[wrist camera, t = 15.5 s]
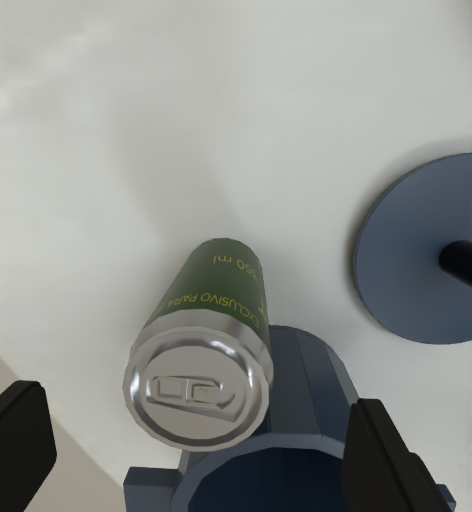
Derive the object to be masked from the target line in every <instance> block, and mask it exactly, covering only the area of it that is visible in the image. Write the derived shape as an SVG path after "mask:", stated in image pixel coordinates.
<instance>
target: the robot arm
mask: <svg viewBox="0 0 472 512" xmlns="http://www.w3.org/2000/svg"><path fill="white" fill-rule="evenodd" d="M56 458H57V451H56V446H55V440H54V435H53V430H52V424H51V419H50V414H49V409H48V403H47V398H46V393H45V389H44V388H43V387H41V385H40V383H39V382H37V381H23V380H18V381H15V382H14V383H13V384H11V386H9V387H8V388H7V389H6V390H5V391H4V392H3V393H1V395H0V512H24V510H25V509H26V507H27V506H28V504H29V503H30V501H31V500H32V498H33V497H34V495H35V493H36V492H37V491H38V489H39V488H40V486H41V485H42V483H43V482H44V480H45V479H46V477H47V476H48V474H49V473H50V471H51V470H52V468H53V466H54V464H55V462H56ZM341 483H342V487H343V491H344V494H345V498H346V501H347V505H348V508H349V512H452V510H451V509H450V507H449V505H448V503H447V502H446V500H445V498H444V497H443V495H442V493H441V492H440V490H439V488H438V486H437V485H436V483H435V481H434V480H433V478H432V476H431V474H430V473H429V471H428V469H427V468H426V466H425V464H424V462H423V461H422V460H421V458H420V457H419V456H418V455H417V454H416V453H412V452H409V450H408V448H407V447H406V445H405V443H404V441H403V440H402V438H401V436H400V434H399V432H398V431H397V429H396V427H395V425H394V423H393V422H392V420H391V418H390V416H389V414H388V413H387V411H386V409H385V407H384V405H383V404H382V402H381V401H380V400H379V399H364V398H359V399H358V400H357V403H352V404H351V408H350V415H349V421H348V428H347V434H346V441H345V447H344V454H343V460H342V466H341Z"/></svg>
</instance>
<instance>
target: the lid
mask: <svg viewBox="0 0 472 512" xmlns="http://www.w3.org/2000/svg"><path fill="white" fill-rule="evenodd" d="M353 275H354V280H355V285H356V288H357V291H358V293H359V296H360V298H361V300H362V302H363V303H364V305H365V307H366V308H367V309H368V311H369V312H370V313H371V314H372V316H373V317H374V318H375V319H376V320H377V321H378V322H379V323H380V324H381V325H382V326H384V327H385V328H387V329H388V330H390V331H391V332H393V333H395V334H397V335H399V336H401V337H403V338H406V339H409V340H412V341H416V342H420V343H426V344H436V345H437V344H455V343H462V342H466V341H471V340H472V153H462V154H456V155H451V156H446V157H443V158H440V159H436V160H433V161H431V162H429V163H426V164H424V165H422V166H419V167H418V168H416V169H414V170H413V171H411V172H409V173H407V174H406V175H404V176H403V177H402V178H401V179H399V180H398V181H397V182H395V183H394V184H393V185H392V186H391V187H390V188H389V189H388V190H386V191H385V192H384V193H383V194H382V196H381V197H380V198H379V199H378V200H377V202H376V203H375V204H374V205H373V207H372V208H371V210H370V211H369V213H368V214H367V216H366V218H365V220H364V222H363V224H362V226H361V228H360V231H359V234H358V237H357V239H356V244H355V248H354V254H353Z"/></svg>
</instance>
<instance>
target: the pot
mask: <svg viewBox="0 0 472 512" xmlns="http://www.w3.org/2000/svg"><path fill="white" fill-rule="evenodd" d="M269 333H270V342H271V350H272V359H273V379H274V384H273V387H272V389H271V392H270V395H269V405H268V408H267V411H266V413H265V416H264V419H263V421H262V423H261V424H260V425H259V426H258V427H257V428H256V430H255V431H254V432H253V433H252V434H251V435H250V436H249V437H247V438H246V439H244V440H242V441H241V442H239V443H237V444H236V445H234V446H232V447H228V448H224V449H220V450H216V451H200V452H191V451H187V450H182V454H181V458H180V462H179V467H178V469H165V468H148V467H130V468H129V470H128V473H127V475H126V478H125V480H124V483H123V486H124V494H125V503H126V511H127V512H349V508H348V505H347V501H346V498H345V494H344V491H343V487H342V483H341V466H342V460H343V454H344V447H345V441H346V434H347V428H348V421H349V415H350V408H351V404H352V403H357V400H358V399H359V396H358V394H357V392H356V389H355V387H354V385H353V383H352V381H351V379H350V377H349V375H348V372H347V370H346V368H345V366H344V364H343V362H342V361H341V360H340V359H339V357H338V356H337V354H336V353H335V352H334V351H333V350H332V349H331V348H330V347H329V346H328V345H327V344H326V343H325V342H323V341H322V340H320V339H319V338H317V337H316V336H314V335H312V334H310V333H308V332H305V331H302V330H299V329H296V328H291V327H286V326H269ZM436 485H437V486H438V488H439V490H440V492H441V493H442V495H443V497H444V498H445V500H446V502H447V503H448V505H449V507H450V509H451V510H452V512H454V510H455V507H456V501H455V500H454V498H453V496H452V495H451V493H450V492H449V490H448V488H447V487H446V485H444V484H436Z"/></svg>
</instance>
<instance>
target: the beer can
mask: <svg viewBox="0 0 472 512" xmlns="http://www.w3.org/2000/svg"><path fill="white" fill-rule="evenodd" d="M273 384H274V379H273V359H272V350H271V342H270V333H269V325H268V316H267V307H266V299H265V290H264V282H263V273H262V267H261V265H260V262H259V260H258V257H257V256H256V255H255V254H254V252H253V251H252V250H251V249H250V248H249V247H247V246H246V245H244V244H243V243H241V242H240V241H236V240H232V239H229V238H219V239H212V240H210V241H207V242H204V243H202V244H201V245H200V246H199V247H197V248H196V249H195V250H194V251H193V252H192V254H191V255H190V257H189V258H188V260H187V262H186V263H185V265H184V266H183V268H182V269H181V271H180V272H179V274H178V275H177V277H176V278H175V280H174V281H173V283H172V285H171V286H170V288H169V289H168V291H167V292H166V294H165V295H164V297H163V298H162V300H161V301H160V303H159V304H158V306H157V308H156V309H155V311H154V312H153V314H152V315H151V317H150V318H149V320H148V321H147V323H146V324H145V326H144V328H143V329H142V331H141V332H140V334H139V335H138V337H137V339H136V340H135V342H134V343H133V345H132V347H131V349H130V355H129V361H128V366H127V367H126V370H125V376H124V381H123V392H124V397H125V402H126V406H127V408H128V410H129V411H130V413H131V415H132V416H133V418H134V420H135V421H136V423H137V424H138V425H139V426H140V427H141V428H143V429H144V430H145V431H146V432H147V433H148V434H149V435H150V436H151V437H153V438H155V439H157V440H159V441H161V442H163V443H165V444H167V445H169V446H170V447H175V448H179V449H183V450H187V451H191V452H200V451H216V450H220V449H224V448H228V447H232V446H234V445H236V444H237V443H239V442H241V441H242V440H244V439H246V438H247V437H249V436H250V435H251V434H252V433H253V432H254V431H255V430H256V428H257V427H258V426H259V425H260V424H261V423H262V421H263V419H264V416H265V413H266V411H267V408H268V405H269V395H270V392H271V389H272V387H273Z"/></svg>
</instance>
